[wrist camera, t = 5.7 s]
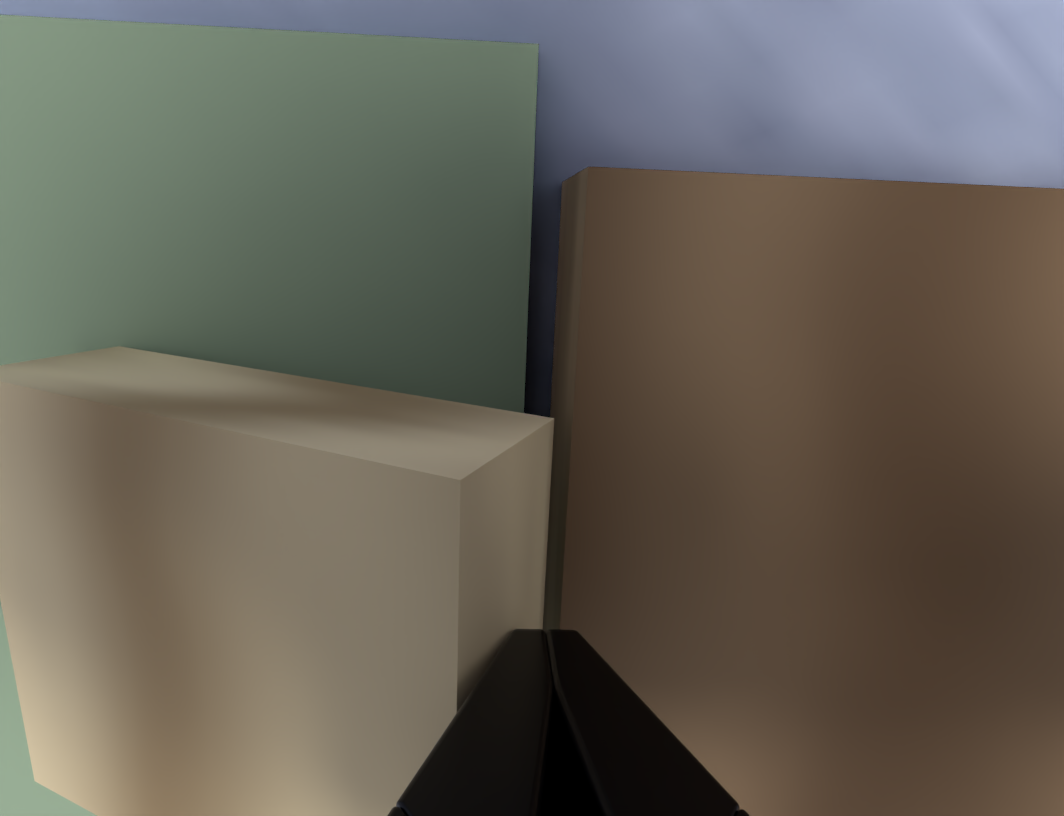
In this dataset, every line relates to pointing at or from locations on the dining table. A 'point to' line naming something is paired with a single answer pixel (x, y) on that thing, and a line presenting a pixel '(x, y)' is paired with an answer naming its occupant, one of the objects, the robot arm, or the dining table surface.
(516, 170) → the mat
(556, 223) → the dining table surface
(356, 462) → the birch tile
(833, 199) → the brown wooden block
